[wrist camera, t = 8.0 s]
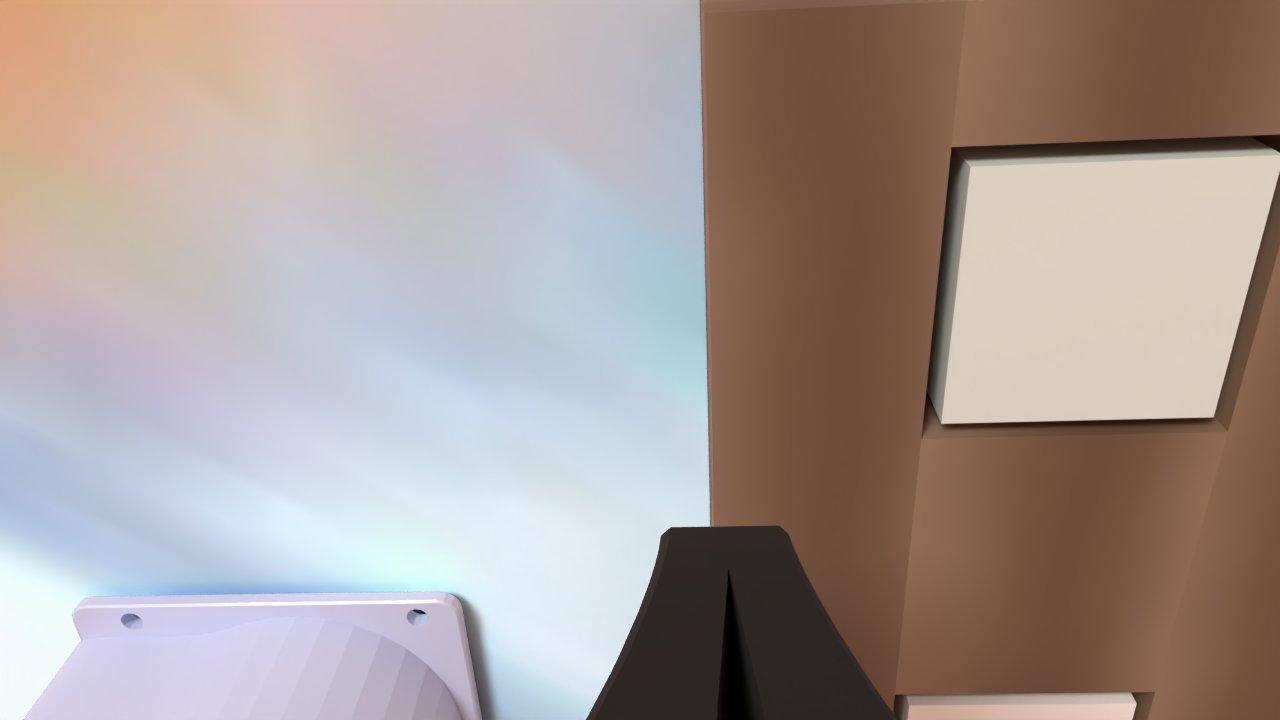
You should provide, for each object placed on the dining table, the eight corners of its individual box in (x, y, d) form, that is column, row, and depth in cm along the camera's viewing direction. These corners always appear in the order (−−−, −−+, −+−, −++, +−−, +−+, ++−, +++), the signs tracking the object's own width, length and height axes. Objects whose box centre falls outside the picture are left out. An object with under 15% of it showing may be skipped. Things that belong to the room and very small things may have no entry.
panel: (714, 766, 26) (720, 911, 23) (699, -27, 17) (704, 12, 13) (1173, 763, 26) (1252, 912, 22) (1427, -62, 16) (1634, -31, 13)
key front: (904, 340, 19) (941, 423, 16) (924, 113, 17) (970, 166, 14) (1138, 333, 19) (1213, 417, 16) (1188, 102, 17) (1284, 155, 14)
